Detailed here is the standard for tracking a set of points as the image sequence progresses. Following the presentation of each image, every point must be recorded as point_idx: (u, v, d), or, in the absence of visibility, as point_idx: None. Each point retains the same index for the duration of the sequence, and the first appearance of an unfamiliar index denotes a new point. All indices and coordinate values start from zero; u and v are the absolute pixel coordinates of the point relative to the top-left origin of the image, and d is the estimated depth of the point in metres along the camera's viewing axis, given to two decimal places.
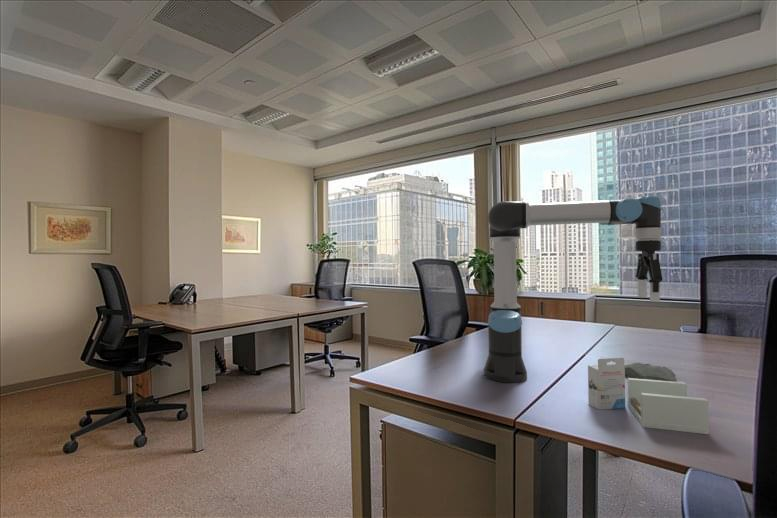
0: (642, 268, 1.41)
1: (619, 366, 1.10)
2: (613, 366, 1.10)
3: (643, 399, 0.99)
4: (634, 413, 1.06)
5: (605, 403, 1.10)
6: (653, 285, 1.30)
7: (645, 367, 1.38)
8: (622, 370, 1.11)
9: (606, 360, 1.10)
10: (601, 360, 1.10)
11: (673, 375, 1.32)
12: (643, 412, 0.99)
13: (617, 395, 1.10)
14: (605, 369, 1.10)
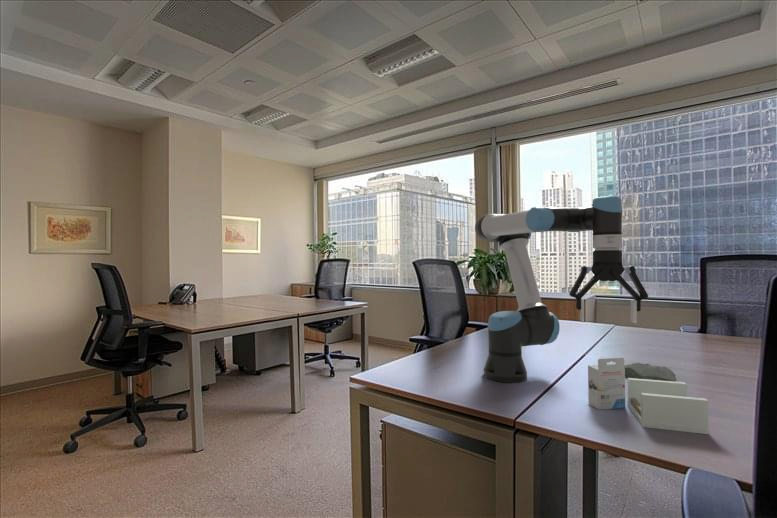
0: (621, 284, 1.12)
1: (619, 366, 1.10)
2: (613, 366, 1.10)
3: (643, 399, 0.99)
4: (634, 413, 1.06)
5: (605, 403, 1.10)
6: None
7: (645, 367, 1.38)
8: (622, 370, 1.11)
9: (606, 360, 1.10)
10: (601, 360, 1.10)
11: (673, 375, 1.32)
12: (643, 412, 0.99)
13: (617, 395, 1.10)
14: (605, 369, 1.10)
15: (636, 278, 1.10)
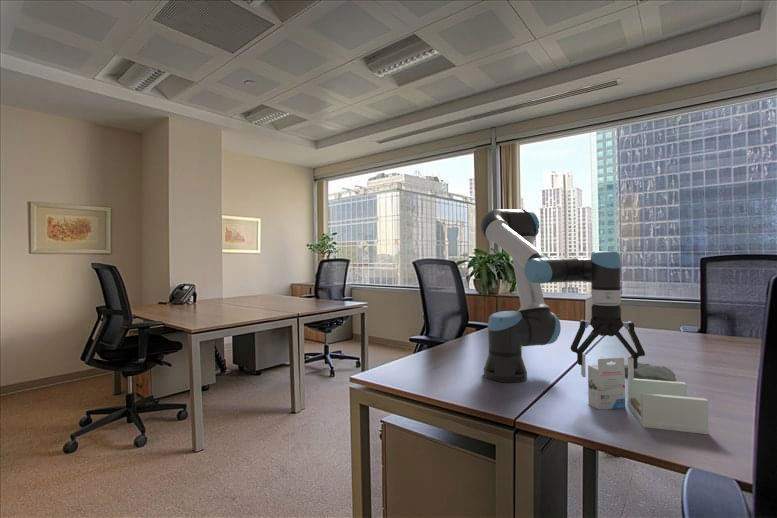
0: (619, 339, 1.12)
1: (619, 366, 1.10)
2: (613, 366, 1.10)
3: (643, 399, 0.99)
4: (634, 413, 1.06)
5: (605, 403, 1.10)
6: None
7: (645, 367, 1.37)
8: (622, 370, 1.11)
9: (606, 360, 1.10)
10: (601, 360, 1.10)
11: (673, 375, 1.32)
12: (643, 412, 0.99)
13: (617, 395, 1.10)
14: (605, 369, 1.10)
15: (634, 335, 1.09)
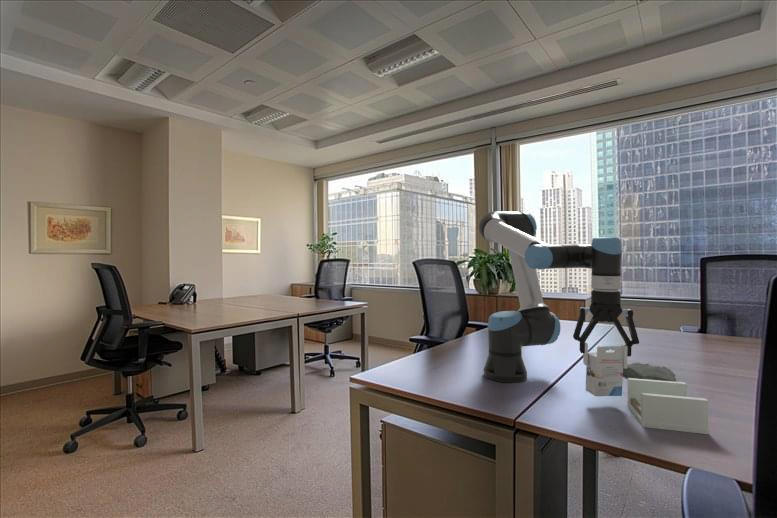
0: None
1: (617, 354, 1.11)
2: (612, 354, 1.11)
3: (643, 399, 0.99)
4: (634, 413, 1.06)
5: (602, 390, 1.11)
6: None
7: (645, 367, 1.37)
8: (621, 358, 1.11)
9: (605, 348, 1.10)
10: (600, 348, 1.10)
11: (673, 375, 1.32)
12: (643, 412, 0.99)
13: (615, 383, 1.11)
14: (604, 357, 1.10)
15: (632, 323, 1.09)
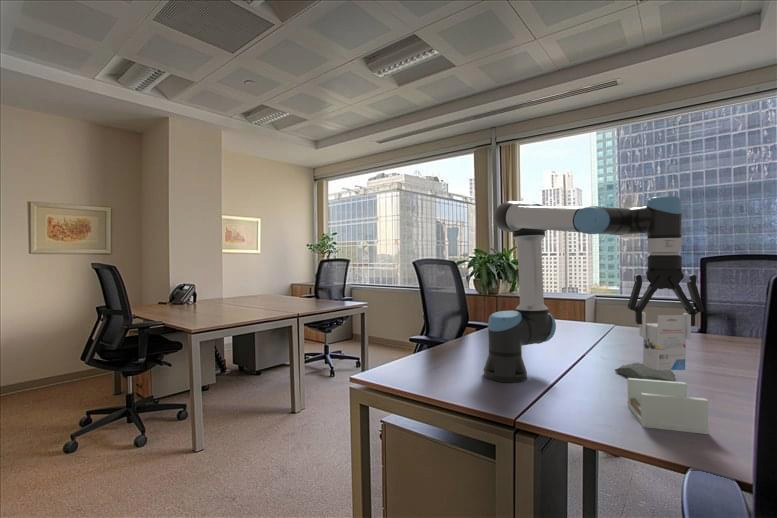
0: (676, 294, 1.03)
1: (680, 324, 1.01)
2: (674, 323, 1.01)
3: (643, 399, 0.99)
4: (634, 413, 1.06)
5: (664, 363, 1.01)
6: None
7: (644, 367, 1.37)
8: (683, 328, 1.01)
9: (666, 316, 1.01)
10: (661, 316, 1.01)
11: (672, 375, 1.32)
12: (643, 412, 0.99)
13: (677, 355, 1.01)
14: (665, 326, 1.01)
15: (695, 289, 1.00)
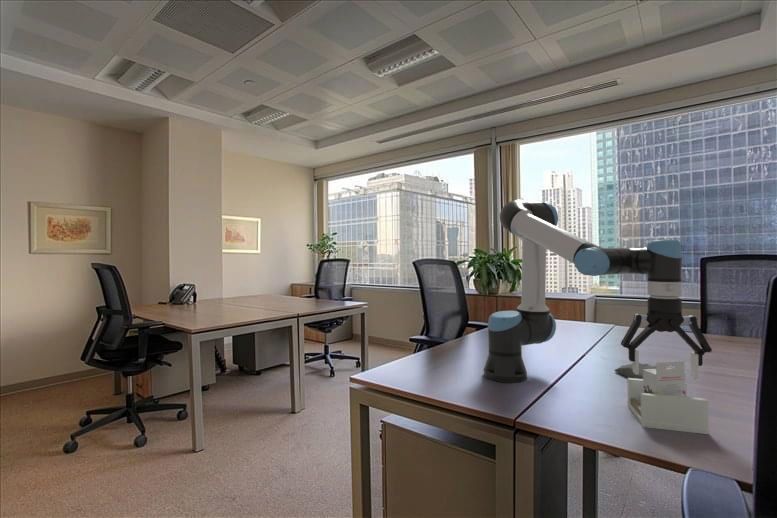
0: None
1: (678, 370, 1.02)
2: (672, 370, 1.02)
3: (643, 399, 0.99)
4: (634, 413, 1.06)
5: None
6: None
7: (644, 367, 1.37)
8: (682, 375, 1.02)
9: (665, 364, 1.01)
10: (660, 364, 1.01)
11: None
12: (643, 412, 0.99)
13: None
14: (664, 374, 1.01)
15: (698, 330, 1.00)
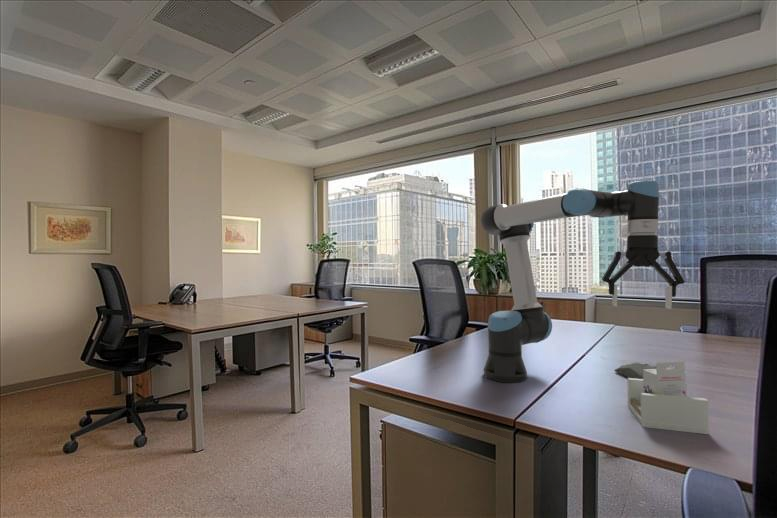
0: (656, 270, 1.12)
1: (679, 371, 1.02)
2: (673, 371, 1.01)
3: (643, 399, 0.99)
4: (634, 413, 1.06)
5: None
6: None
7: (644, 367, 1.37)
8: (683, 375, 1.02)
9: (665, 364, 1.01)
10: (660, 364, 1.01)
11: None
12: (643, 412, 0.99)
13: None
14: (664, 374, 1.01)
15: (672, 263, 1.09)
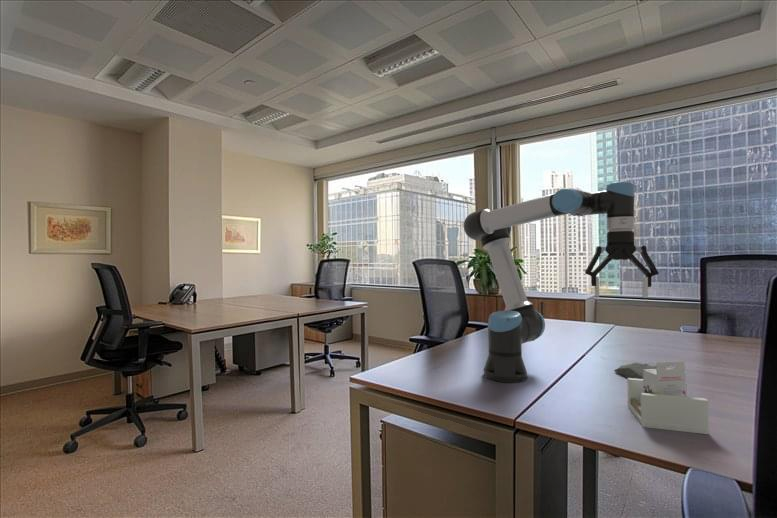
0: (633, 262, 1.23)
1: (679, 371, 1.02)
2: (673, 371, 1.01)
3: (643, 399, 0.99)
4: (634, 413, 1.06)
5: None
6: None
7: (644, 367, 1.37)
8: (683, 375, 1.02)
9: (665, 364, 1.01)
10: (660, 364, 1.01)
11: None
12: (643, 412, 0.99)
13: None
14: (664, 374, 1.01)
15: (647, 256, 1.20)
